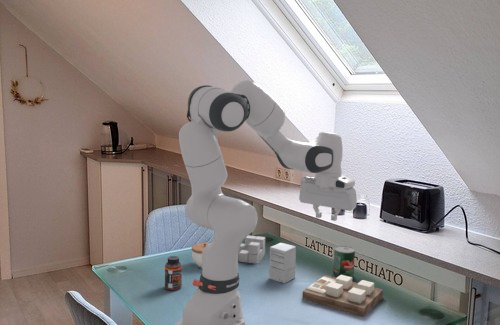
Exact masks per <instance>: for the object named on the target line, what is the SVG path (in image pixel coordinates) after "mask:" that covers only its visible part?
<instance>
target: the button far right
mask: <svg viewBox="0 0 500 325" xmlns="http://www.w3.org/2000/svg"><path fill="white" fill-rule="evenodd" d="M357 283H358V284H357V288H358V289H362V290H366V295H371V294H372V293H373V292H374V287H375V282H372V281H368V280H364V279H362V280H360V281H359V282H357Z"/></svg>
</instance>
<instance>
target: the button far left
mask: <svg viewBox="0 0 500 325" xmlns="http://www.w3.org/2000/svg"><path fill="white" fill-rule="evenodd" d="M352 282H353V279H352V277H349V276H344V275H340V276H338V277H337V278H336V283H338V284H342V285H343V289H347V290H348V289H349V288H350V287H351V286H352Z"/></svg>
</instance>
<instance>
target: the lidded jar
mask: <svg viewBox="0 0 500 325" xmlns="http://www.w3.org/2000/svg"><path fill="white" fill-rule="evenodd" d="M209 243H210V242H200V243H196V244H194V245H192V246H191V256H192V260H193V262H194V264H195V265H196V266H197V267H198V268H201V269H202V252H203V249H204V248H205V247H206V246H207V245H208V244H209Z"/></svg>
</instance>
